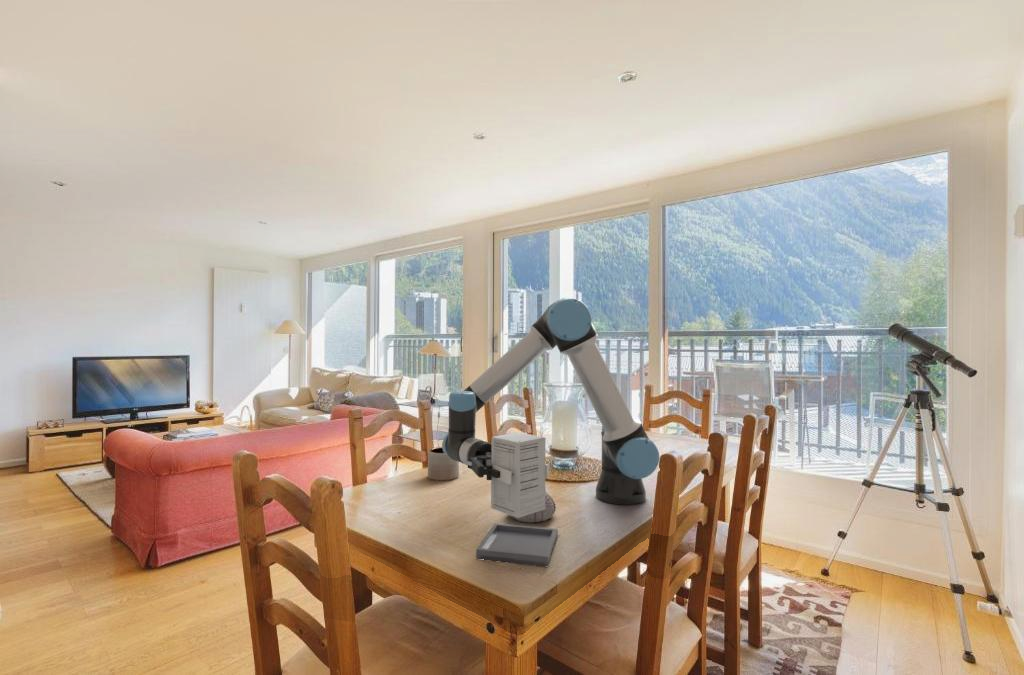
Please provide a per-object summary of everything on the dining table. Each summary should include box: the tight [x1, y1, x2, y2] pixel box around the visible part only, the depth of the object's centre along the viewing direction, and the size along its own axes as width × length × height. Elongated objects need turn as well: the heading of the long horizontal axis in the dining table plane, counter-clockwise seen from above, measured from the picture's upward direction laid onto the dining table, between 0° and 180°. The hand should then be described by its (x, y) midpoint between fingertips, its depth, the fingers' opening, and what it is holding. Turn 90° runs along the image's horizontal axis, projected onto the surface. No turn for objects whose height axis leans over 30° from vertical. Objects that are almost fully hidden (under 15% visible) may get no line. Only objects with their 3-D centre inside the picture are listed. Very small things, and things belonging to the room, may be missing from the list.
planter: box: [427, 446, 460, 482], centre depth 174 cm, size 11×11×10 cm
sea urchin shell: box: [509, 490, 557, 524], centre depth 136 cm, size 13×14×8 cm
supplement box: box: [490, 431, 546, 518], centre depth 115 cm, size 10×9×17 cm
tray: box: [475, 522, 559, 567], centre depth 115 cm, size 16×16×2 cm
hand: (529, 474), depth 112 cm, fingers closed on supplement box, 10 cm apart
